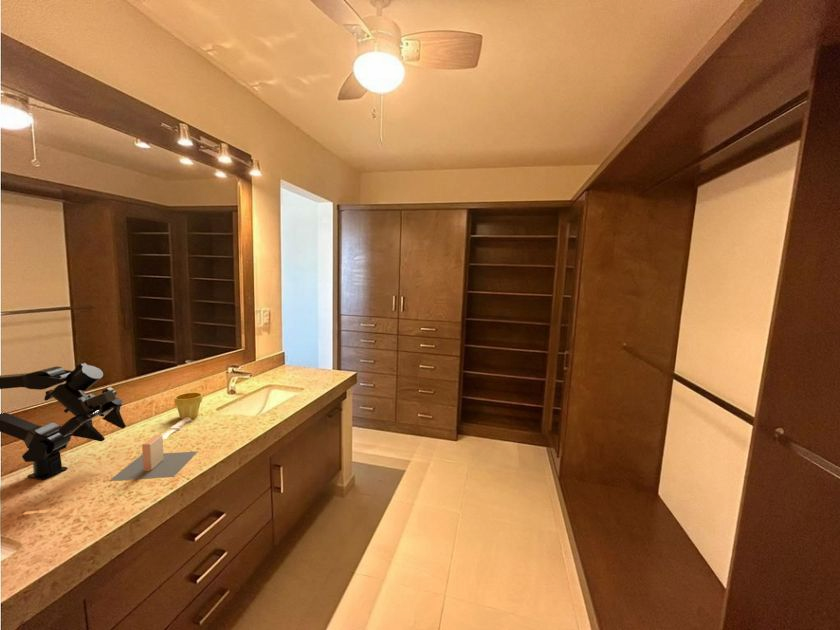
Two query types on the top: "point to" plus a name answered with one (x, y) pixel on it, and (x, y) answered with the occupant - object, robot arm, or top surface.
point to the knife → (176, 427)
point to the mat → (163, 469)
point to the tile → (152, 452)
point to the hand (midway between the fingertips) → (114, 433)
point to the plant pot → (188, 404)
